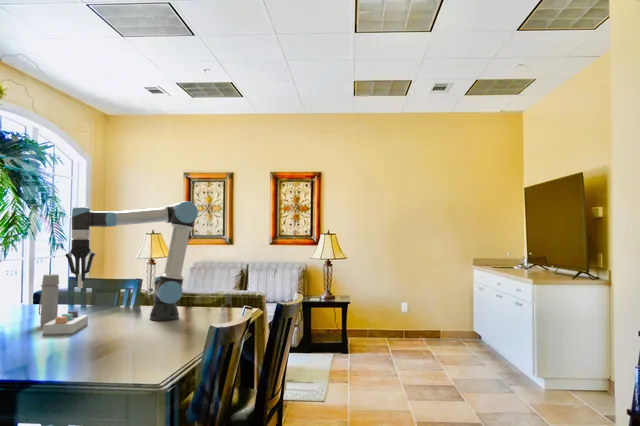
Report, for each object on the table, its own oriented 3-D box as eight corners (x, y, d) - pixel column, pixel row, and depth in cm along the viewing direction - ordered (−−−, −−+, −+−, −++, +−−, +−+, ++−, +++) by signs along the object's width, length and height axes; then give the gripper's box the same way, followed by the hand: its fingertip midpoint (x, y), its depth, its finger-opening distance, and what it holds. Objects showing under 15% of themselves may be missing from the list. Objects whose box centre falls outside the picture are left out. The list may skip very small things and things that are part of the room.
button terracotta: (67, 327, 199) (68, 316, 200) (64, 329, 195) (64, 318, 195) (57, 327, 198) (57, 316, 199) (53, 329, 194) (54, 318, 194)
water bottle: (60, 323, 219) (63, 274, 221) (49, 326, 211) (52, 275, 213) (44, 322, 220) (46, 274, 221) (32, 326, 212) (35, 275, 214)
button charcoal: (78, 320, 214) (79, 310, 214) (75, 322, 210) (76, 312, 210) (69, 321, 213) (69, 311, 213) (65, 322, 209) (66, 312, 209)
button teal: (73, 323, 207) (73, 313, 207) (70, 325, 202) (70, 315, 203) (63, 324, 206) (63, 313, 206) (59, 326, 201) (60, 315, 202)
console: (87, 325, 216) (88, 315, 216) (72, 335, 194) (72, 324, 195) (61, 325, 213) (61, 315, 214) (42, 336, 192) (43, 324, 192)
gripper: (97, 238, 212) (97, 286, 212) (68, 239, 209) (67, 287, 208) (93, 238, 205) (92, 288, 204) (63, 239, 202) (62, 289, 201)
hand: (80, 287), depth 206 cm, fingers closed
